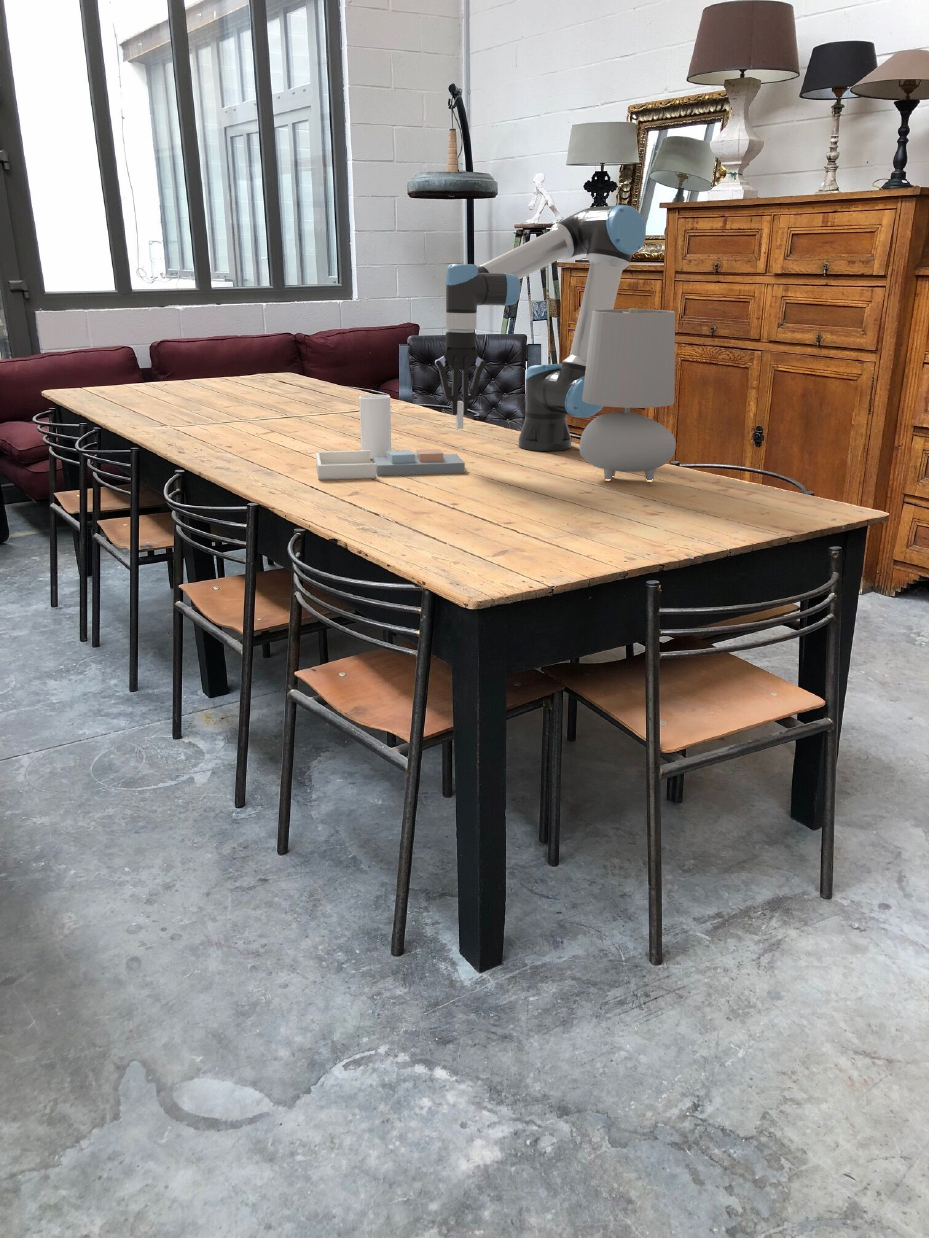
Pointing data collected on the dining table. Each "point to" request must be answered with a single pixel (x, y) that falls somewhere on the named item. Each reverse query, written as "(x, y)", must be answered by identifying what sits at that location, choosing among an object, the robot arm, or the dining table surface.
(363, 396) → the cup
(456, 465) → the board
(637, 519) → the dining table surface
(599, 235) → the robot arm
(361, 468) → the box
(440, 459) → the terracotta tile
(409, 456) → the blue tile
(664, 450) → the table lamp
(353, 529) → the dining table surface
